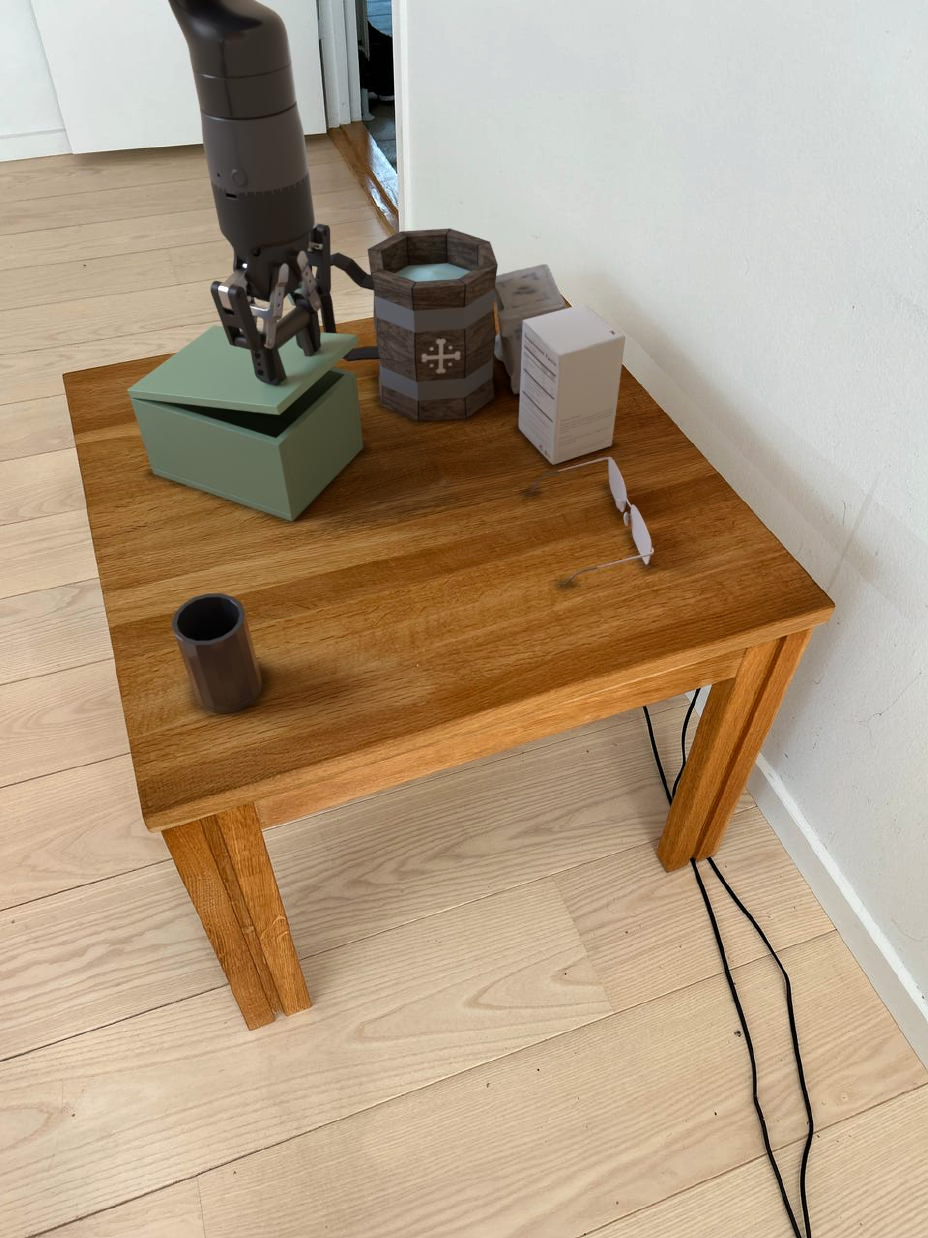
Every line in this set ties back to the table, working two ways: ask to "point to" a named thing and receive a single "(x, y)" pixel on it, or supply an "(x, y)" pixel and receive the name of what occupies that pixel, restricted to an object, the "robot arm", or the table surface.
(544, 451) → the white packaging box
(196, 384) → the lid
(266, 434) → the chest
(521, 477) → the table surface
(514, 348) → the incense holder
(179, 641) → the cup
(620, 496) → the eyeglasses
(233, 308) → the robot arm
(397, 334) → the mug
